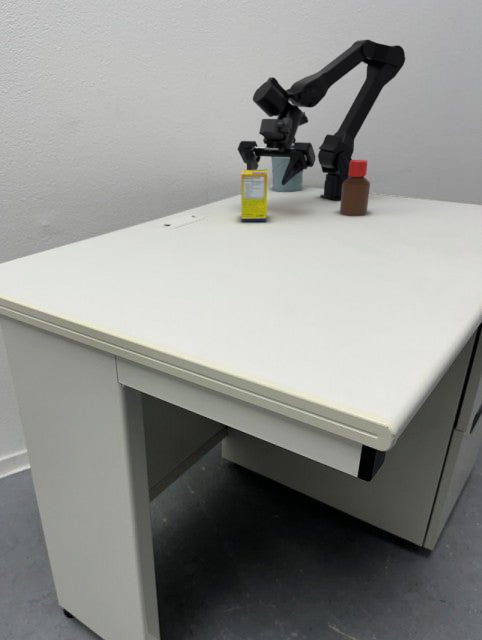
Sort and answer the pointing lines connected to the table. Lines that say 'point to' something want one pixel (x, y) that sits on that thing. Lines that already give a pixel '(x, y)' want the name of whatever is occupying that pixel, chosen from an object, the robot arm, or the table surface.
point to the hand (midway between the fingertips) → (265, 183)
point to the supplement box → (253, 195)
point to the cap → (357, 168)
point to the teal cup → (278, 173)
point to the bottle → (354, 196)
